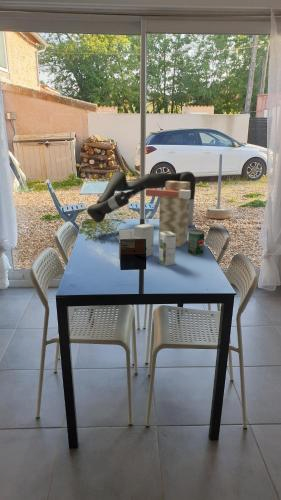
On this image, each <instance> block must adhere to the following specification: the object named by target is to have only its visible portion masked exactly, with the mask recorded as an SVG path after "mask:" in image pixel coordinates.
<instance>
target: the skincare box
mask: <svg viewBox="0 0 281 500" xmlns="http://www.w3.org/2000/svg"><path fill="white" fill-rule="evenodd" d="M154 231H155V225H152V224H149V223H148V224H147V223H143V224H142V223H141V224H138V225H134V226H133V237H134V236H136V237H140V238H142V239H146V247H147V250H146V254H147V256H146V257H148V256H152V255H154V241H155V240H154V236H155V235H154V234H155V233H154Z"/></svg>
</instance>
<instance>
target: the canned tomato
mask: <svg viewBox="0 0 281 500" xmlns="http://www.w3.org/2000/svg"><path fill="white" fill-rule="evenodd" d="M205 233H206V232H205V230H202V229H188V238H187V254H188V255H190V256H202V255H204V250H205V235H206V234H205Z"/></svg>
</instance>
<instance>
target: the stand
mask: <svg viewBox="0 0 281 500" xmlns="http://www.w3.org/2000/svg"><path fill="white" fill-rule="evenodd" d="M181 189H182V190H190V182H183V181H166V182H165V187H164V190H172V191H179V190H181ZM158 217H159V221H158V222H159V225H158V226H159V227H158V243H159V242H160V232H164V231H171V232H172V233H174V234H176V243H175V248H181V247H183V245H185V244H186V243H187V242H188V236H189V227H188V218H189V199H183V198H180V197H167V196H160V197H159V216H158Z"/></svg>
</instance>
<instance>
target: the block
mask: <svg viewBox="0 0 281 500" xmlns="http://www.w3.org/2000/svg"><path fill="white" fill-rule="evenodd" d="M190 195H191V190H182V189H181V190H179V191H172V190H165V189H160V188H156V189H145V196H146V197H156V198H158V197H159V198H160V196H167V197H180V198H183V199H190Z"/></svg>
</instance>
